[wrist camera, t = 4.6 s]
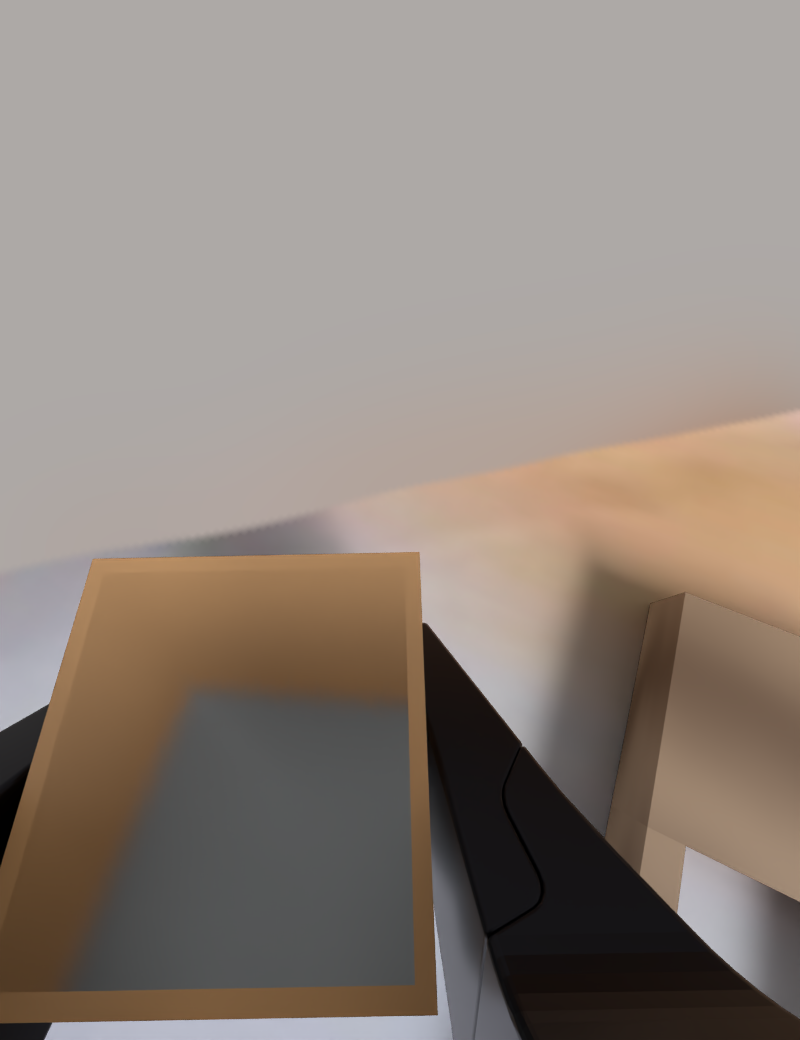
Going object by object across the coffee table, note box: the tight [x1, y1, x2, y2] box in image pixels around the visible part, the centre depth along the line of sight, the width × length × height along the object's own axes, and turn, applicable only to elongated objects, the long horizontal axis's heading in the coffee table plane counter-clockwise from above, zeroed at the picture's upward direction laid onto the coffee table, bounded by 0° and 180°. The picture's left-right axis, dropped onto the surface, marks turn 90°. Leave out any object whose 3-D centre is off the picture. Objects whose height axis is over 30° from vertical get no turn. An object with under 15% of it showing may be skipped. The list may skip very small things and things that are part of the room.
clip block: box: [0, 552, 438, 1023], centre depth 9 cm, size 4×4×10 cm
